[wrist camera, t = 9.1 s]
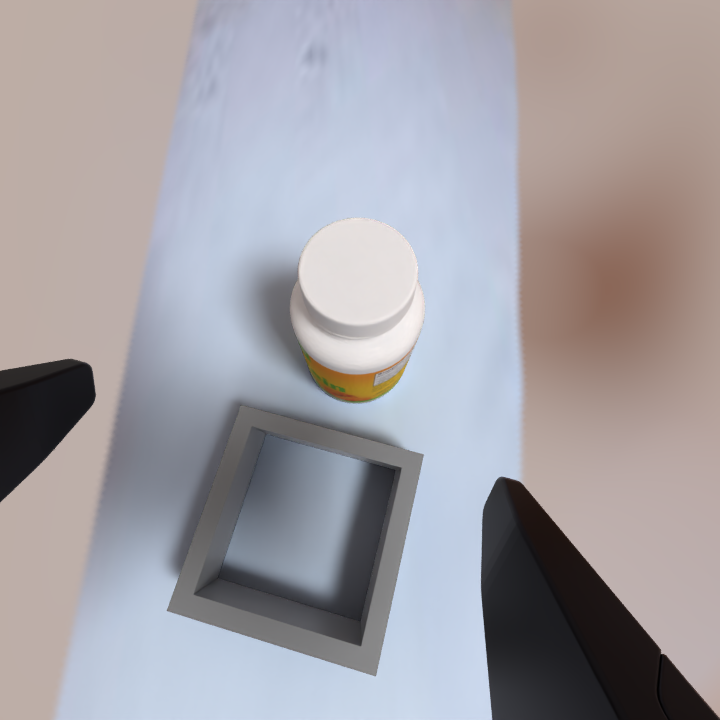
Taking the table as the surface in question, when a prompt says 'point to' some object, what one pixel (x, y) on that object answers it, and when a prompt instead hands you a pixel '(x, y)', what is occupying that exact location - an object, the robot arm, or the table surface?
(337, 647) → the frame
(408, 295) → the supplement bottle
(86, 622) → the table surface
